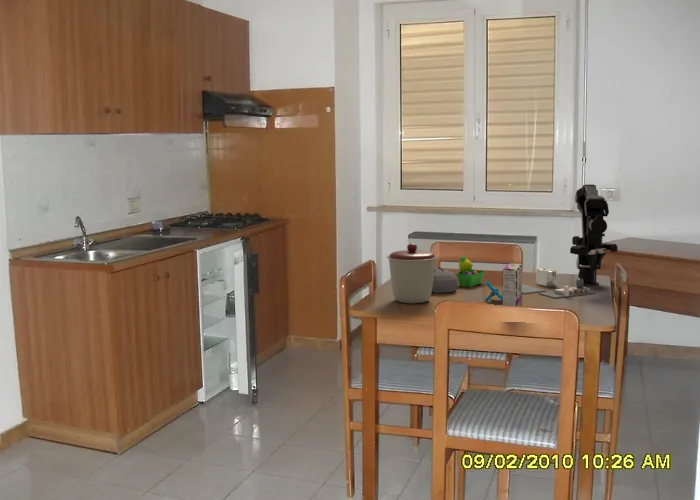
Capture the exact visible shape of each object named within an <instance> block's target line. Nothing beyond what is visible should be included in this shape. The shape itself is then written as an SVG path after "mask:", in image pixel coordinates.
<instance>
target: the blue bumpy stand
mask: <svg viewBox="0 0 700 500" xmlns="http://www.w3.org/2000/svg"><path fill="white" fill-rule="evenodd" d="M484 283H485V285H486V286H487V287H488V288H489V290H491V292H490V293H489V295H488V296H487V297H486V298H485V299H484V301H485V302H488V301H489V300H490V299H491V298H492V297H494V296H497V297H498V299H500V301H501V302H503V294H502V293H500V292H499V290H498V288H496V287H494V285H493V284H491V283H490V282H489V281H488V280H485V281H484Z"/></svg>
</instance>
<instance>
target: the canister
mask: <svg viewBox="0 0 700 500" xmlns="http://www.w3.org/2000/svg"><path fill="white" fill-rule="evenodd" d="M406 248H407V249H406V250H405V249H404V250H403V249H402V250H398V251H392V252H391V253H390V254H389V255H387V256H386V258H387V260H388V262H389V271H390V272H389V273H390V281H391V282H390V283H391V289H392V294H393V297H394V300H395V301H397V302H399V303H402V304H422V303H423V304H424V303H426V302H428V301H429V300H430V299H431V296H432V293H433V292H432V286H433V278H434V269H435V268H436V260H437V259H438V255H436V254H435V253H433V252H432V251H427V250H419V249H418V245H417V244H416V243H409V244H408V245H407V247H406Z"/></svg>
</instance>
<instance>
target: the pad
mask: <svg viewBox="0 0 700 500" xmlns="http://www.w3.org/2000/svg"><path fill="white" fill-rule="evenodd" d="M543 292H546V289H542V288H538V287H535V286H530V285H527V284H522V295H528V294H529V295H530V294H536V293H537V294H538V293H543Z"/></svg>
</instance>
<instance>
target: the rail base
mask: <svg viewBox="0 0 700 500" xmlns="http://www.w3.org/2000/svg"><path fill="white" fill-rule="evenodd" d="M563 288H564V294H557V293H554V290H552V291H545V292H538V295H540V296H544V297H548V298H551V299H562V298H570V297H571V298H572V297H579V296H586V295H594V294H596V292H595V291H591V290H590V292H584V293H581V292H579V293H574V294H570V293H569V288H570V286H568V285H564V286H563Z"/></svg>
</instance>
